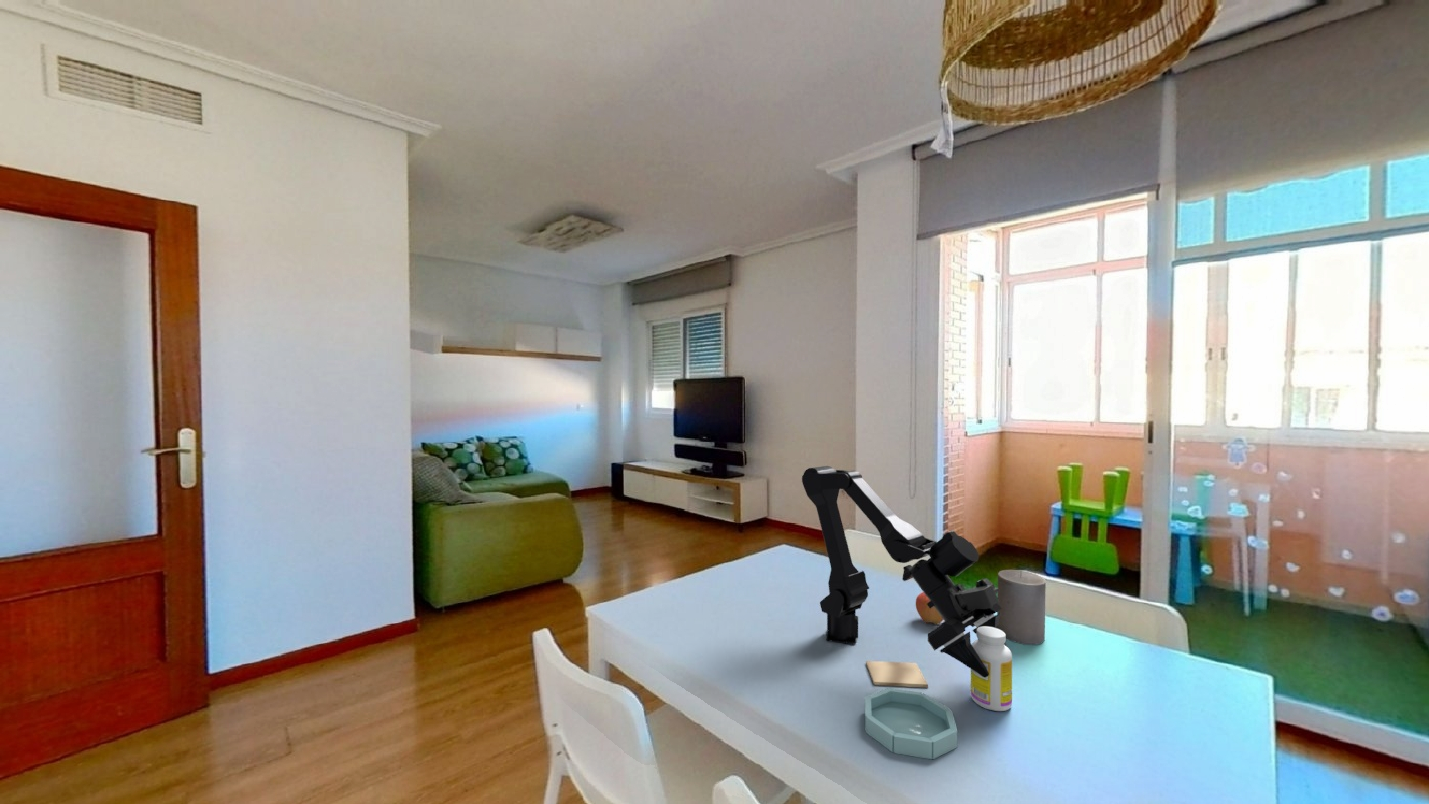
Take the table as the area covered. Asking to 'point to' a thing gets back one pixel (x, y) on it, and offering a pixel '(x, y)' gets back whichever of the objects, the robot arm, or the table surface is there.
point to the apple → (927, 610)
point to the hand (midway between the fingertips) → (998, 667)
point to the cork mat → (896, 674)
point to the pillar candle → (1022, 606)
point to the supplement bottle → (992, 670)
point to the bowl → (910, 723)
